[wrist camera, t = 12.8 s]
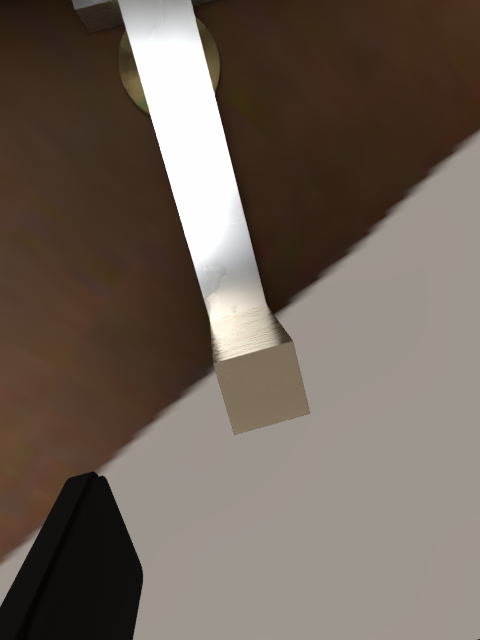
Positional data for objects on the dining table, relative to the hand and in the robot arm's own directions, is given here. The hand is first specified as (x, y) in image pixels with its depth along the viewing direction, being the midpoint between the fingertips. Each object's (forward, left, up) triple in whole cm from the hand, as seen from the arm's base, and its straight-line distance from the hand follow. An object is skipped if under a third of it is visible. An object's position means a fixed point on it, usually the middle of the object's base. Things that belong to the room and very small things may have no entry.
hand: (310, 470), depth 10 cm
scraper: (0, -8, -16) cm, 18 cm away
